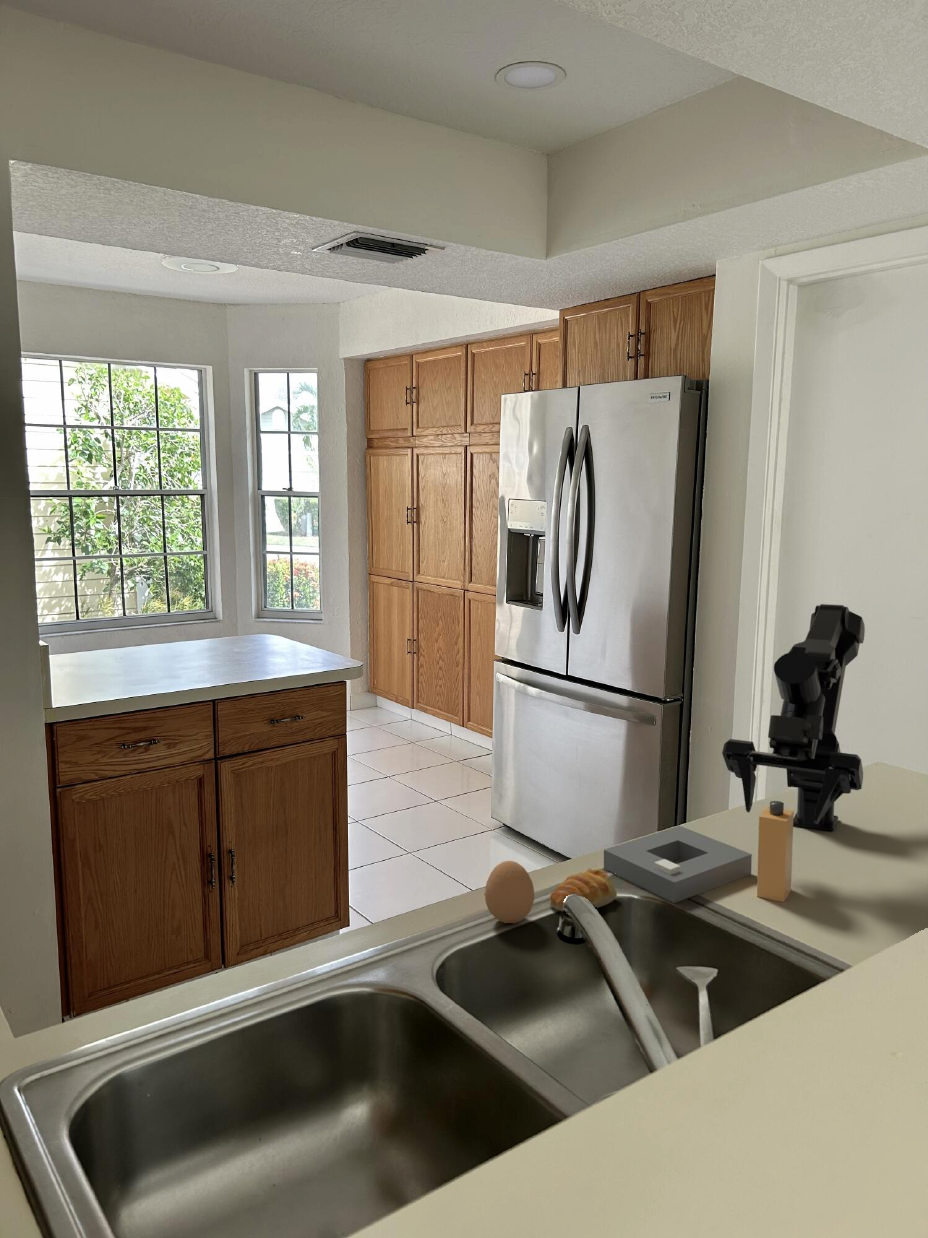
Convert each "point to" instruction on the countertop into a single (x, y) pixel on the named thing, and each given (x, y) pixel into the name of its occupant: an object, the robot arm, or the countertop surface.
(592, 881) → the pastry
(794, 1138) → the countertop surface
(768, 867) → the plug
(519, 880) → the egg
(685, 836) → the socket
